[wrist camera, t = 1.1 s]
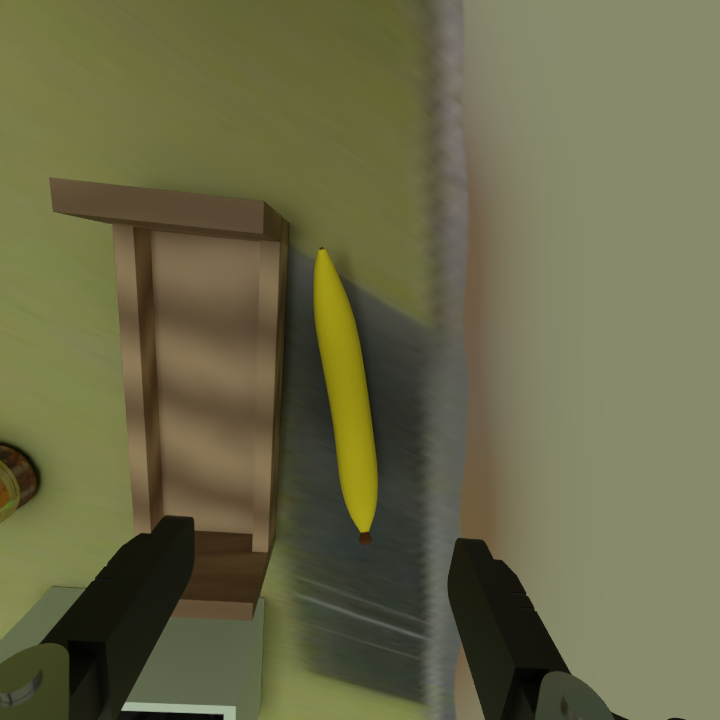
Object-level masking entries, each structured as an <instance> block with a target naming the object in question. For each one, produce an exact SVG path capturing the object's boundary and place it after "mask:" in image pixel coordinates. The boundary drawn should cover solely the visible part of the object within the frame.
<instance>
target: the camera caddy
mask: <svg viewBox="0 0 720 720" xmlns="http://www.w3.org/2000/svg"><path fill="white" fill-rule="evenodd" d="M84 590H85V588H66V587H51V588H50V589H49V590H48V592H47V593H46V594H45V595H44V596H43V597H42V598H41V599H40V600H39V601H38V602H37V603H36V604H35V605H34V606H33V607H32V608H31V609H30V610H29V611H28V612H27V613H26V614H25V616H24V617H23V618H22V619H21V620H20V621H19V622H18V623H17V624H16V625H15V626H14V627H13V628H12V629H11V630H10V631H9V632H8V633H7V634H6V635H5V636H4V637H3V639H2V640H1V641H0V664H1V663H2V662H3V661H5V660H6V659H8V658H9V657H11V656H13V655H14V654H16V653H18V652H20V651H22V650H24V649H27V648H30V647H32V646H36V645H38V644H39V643H40V642H41V641H42V640H43V639H44V638H45V637H46V635H47V634H48V633H49V632H50V631H51V629H52V628H53V627H54V626H55V625H56V624H57V622H58V621H59V620H60V619H61V618H62V616H63V615H64V614H65V613H66V612H67V611H68V609H69V608H70V607H71V606H72V605H73V603H74V602H75V601H76V600H77V599H78V598H79V596H80V595H81V594H82V593H83V592H84ZM264 601H265V598H259V599H258V603H257V606H256V610H255V613H254V617H253V620H252V621H242V620H222V619H201V618H181V617H170V619H169V620H168V622H167V624H166V626H165V628H164V630H163V632H162V634H161V636H160V638H159V639H158V641H157V643H156V645H155V647H154V649H153V651H152V653H151V655H150V656H149V658H148V660H147V662H146V664H145V666H144V668H143V670H142V672H141V674H140V675H139V677H138V679H137V681H136V683H135V685H134V687H133V689H132V691H131V692H130V694H129V696H128V698H127V700H126V702H125V704H124V706H123V708H122V710H121V711H148V712H176V713H204V714H224V720H258V716H259V711H260V706H261V680H262V654H263V627H264Z"/></svg>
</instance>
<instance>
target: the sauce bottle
mask: <svg viewBox="0 0 720 720" xmlns="http://www.w3.org/2000/svg"><path fill="white" fill-rule="evenodd" d="M36 482H37V480H36V475H35V473H34V471H33V468H32V466H31V465H30V463H29V462H28V461H27V460H26V458H25V457H24V456H22V455H21V453H20V452H17V451H15V450H14V449H11V448H9V447H6V446H4V445H0V523H1V522H2V521H4V520H5V519H7V518H8V517H9V516H11V515H12V514H13V513H14V511H15V510H17V509H18V508H20V507H22V506H23V505H24V504H26V503H27V502H28V501H29V500H30V499H31V498H32V496H33V495H34V493H35V490H36V487H37V483H36Z"/></svg>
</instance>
